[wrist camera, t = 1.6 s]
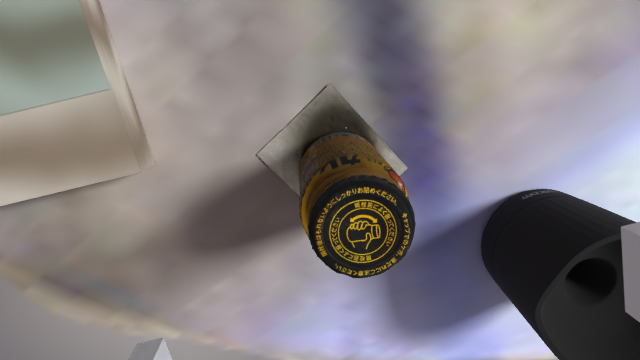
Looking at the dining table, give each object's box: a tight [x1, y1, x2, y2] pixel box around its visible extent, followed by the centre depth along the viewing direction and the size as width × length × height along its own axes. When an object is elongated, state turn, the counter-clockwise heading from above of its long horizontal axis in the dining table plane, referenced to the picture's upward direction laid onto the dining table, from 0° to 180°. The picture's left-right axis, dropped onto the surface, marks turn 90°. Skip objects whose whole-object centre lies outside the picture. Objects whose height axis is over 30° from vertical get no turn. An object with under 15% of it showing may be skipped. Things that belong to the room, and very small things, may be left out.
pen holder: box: [481, 189, 640, 360], centre depth 30 cm, size 9×9×10 cm
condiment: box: [257, 84, 416, 278], centre depth 26 cm, size 7×8×12 cm
